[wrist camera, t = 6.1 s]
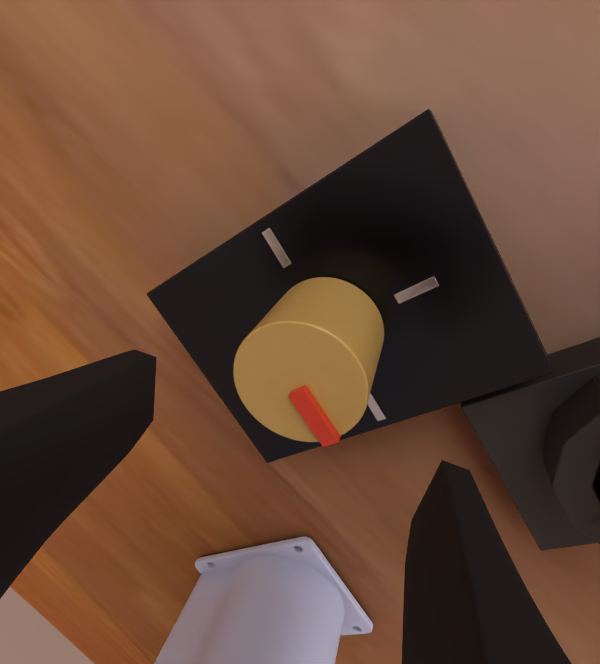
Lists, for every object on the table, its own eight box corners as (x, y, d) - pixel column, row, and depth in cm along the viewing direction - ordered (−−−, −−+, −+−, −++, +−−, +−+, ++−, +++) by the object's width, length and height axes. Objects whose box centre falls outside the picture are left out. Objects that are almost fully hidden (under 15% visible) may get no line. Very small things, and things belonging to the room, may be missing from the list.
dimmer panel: (287, 423, 22) (265, 466, 19) (184, 271, 20) (143, 295, 17) (537, 333, 16) (556, 375, 14) (431, 110, 14) (429, 108, 12)
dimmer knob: (255, 307, 16) (201, 360, 12) (346, 255, 14) (315, 300, 10) (312, 392, 17) (277, 464, 13) (405, 353, 15) (394, 425, 11)
